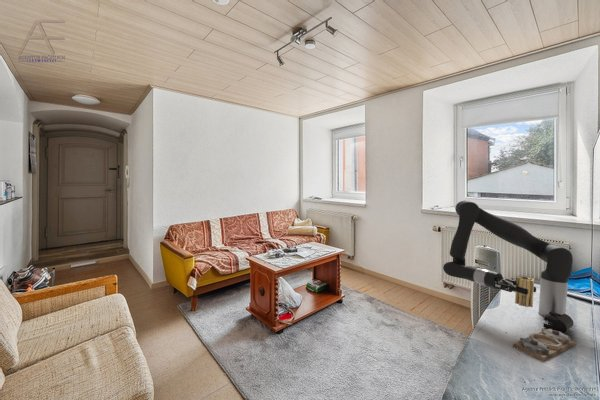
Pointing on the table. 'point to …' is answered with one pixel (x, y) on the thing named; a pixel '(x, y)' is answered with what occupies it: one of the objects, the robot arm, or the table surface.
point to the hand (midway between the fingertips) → (531, 291)
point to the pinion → (522, 298)
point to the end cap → (558, 322)
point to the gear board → (545, 344)
